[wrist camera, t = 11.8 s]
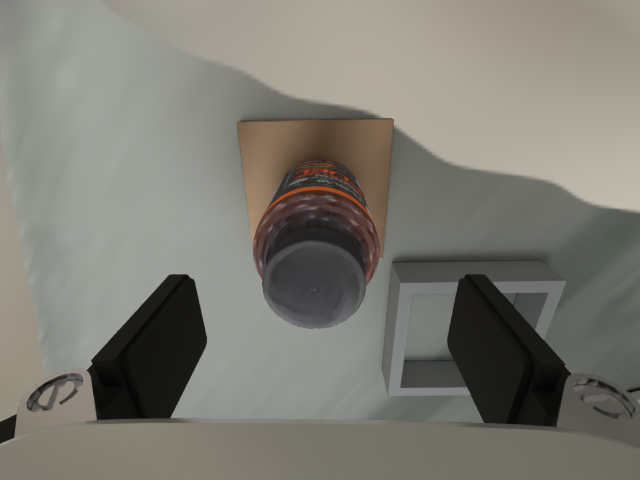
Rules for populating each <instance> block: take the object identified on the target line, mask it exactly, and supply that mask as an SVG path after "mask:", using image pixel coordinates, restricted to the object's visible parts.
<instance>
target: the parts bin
mask: <svg viewBox="0 0 640 480" xmlns="http://www.w3.org/2000/svg"><path fill="white" fill-rule="evenodd" d="M466 274H485V275H486V276H487V277H488V278H489V279H490V281H491V282H492V283H493V284H494V285H495V286H496V287H497V288H498V289H499V291H500V292H501V293H518V294H517V297H516V300H515V304H514V307H515V308H516V310H517V311H518V312H519V313H520V314H521V315H522V316H523V317H524V319H525V320H526V321H527V322H528V323H529V324H530V325H531V326H532V328H533V329H534V330H535V331H536V332H537V333H538V334H539V335H540V336H541V338H542V339H543V340H544V339H545V336H546V334H547V331H548V328H549V326H550V323H551V321H552V318H553V315H554V313H555V310H556V308H557V305H558V302H559V300H560V297H561V295H562V292H563V290H564V287H565V284H566V282H567V281H566V280H565V279H564V278H562V277H561V276H560V275H558V274H557V273H556V272H554V271H553V270H552V269H551V268H549V267H548V266H547V265H545V264H544V263H543V262H541V261H473V262H397V263H392V268H391V279H390V289H389V300H388V311H387V321H386V332H385V342H384V353H383V364H382V371H383V376H384V380H385V385H386V389H387V394H388V396H436V395H471V394H470V392H469V390H468V388H467V386H466V384H465V382H464V380H463V378H462V375H461V373H460V371H459V369H458V367H457V365H456V363H455V361H404V356H405V348H406V341H407V333H408V326H409V319H410V311H411V304H412V296H413V294H456V292H457V287H458V282H459V280H460V279H461V278H464V276H465V275H466Z"/></svg>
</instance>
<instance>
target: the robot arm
mask: <svg viewBox="0 0 640 480" xmlns="http://www.w3.org/2000/svg"><path fill="white" fill-rule="evenodd" d="M447 343H448V348H449V350H450V353H451V355H452V357H453V359H454V361H455V363H456V365H457V367H458V369H459V371H460V373H461V375H462V378H463V380H464V382H465V384H466V386H467V388H468V390H469V392H470V394H471V396H472V398H473V400H474V403H475V405H476V407H477V409H478V411H479V413H480V415H481V417H482V419H483V421H484V423H468V422H423V421H372V420H303V419H199V418H170V417H171V415H172V413H173V411H174V409H175V407H176V405H177V403H178V401H179V399H180V397H181V395H182V393H183V391H184V389H185V387H186V385H187V383H188V381H189V379H190V377H191V375H192V373H193V371H194V369H195V367H196V365H197V363H198V361H199V359H200V357H201V355H202V353H203V351H204V349H205V347H206V344H207V336H206V331H205V327H204V322H203V317H202V313H201V308H200V304H199V299H198V295H197V290H196V285H195V281H194V279H192V278H190V277H189V276H188V275H187V274H172V275H169V276H168V277H167V278H166V279H165V280H164V281H163V282H162V283H161V285H160V286H159V287H158V288H157V289H156V290H155V291H154V292H153V293H152V294H151V296H150V297H149V298H148V299H147V300H146V301H145V302H144V303H143V304H142V305H141V306H140V308H139V309H138V310H137V311H136V312H135V313H134V314H133V315H132V316H131V317H130V318H129V320H128V321H127V322H126V323H125V324H124V325H123V326H122V327H121V328H120V329H119V330H118V332H117V333H116V334H115V335H114V336H113V337H112V338H111V339H110V340H109V341H108V343H107V344H106V345H105V346H104V347H103V348H102V349H101V350H100V351H99V352H98V353H97V355H96V356H95V357H94V358H93V359H92V360H91V361H92V363H93V364H92V365H91V366H90V367H89V369H88V370H87V371H86V370H84V369H69V370H65V371H62V372H59V373H56V374H54V375H52V376H49V377H47V378H45V379H44V380H42V381H41V382H40V383H38V384H36V385H35V386H34V387H33V388H31V389H30V390H29V391H28V392H27V393H26V394H25V395H24V397H23V398H22V399H21V401H20V403H19V406H18V410H17V414H16V415H14V416H12V417H10V418H8V419H6V420H4V421H1V422H0V480H640V390H639V391H635V392H630V393H629V392H627V391H626V390H624V389H623V388H621V387H620V386H618V385H617V384H615V383H613V382H611V381H609V380H607V379H605V378H602V377H599V376H596V375H592V374H586V373H574V374H571V373H570V372H569V371H568V370H567V369H566V368H565V363H564V362H563V361H562V360H561V359H560V358H559V357H558V355H557V354H556V353H555V352H554V351H553V350H552V349H551V348H550V347H549V345H548V344H547V343H546V342H545V341H544V340H543V339H542V338H541V336H540V335H539V334H538V333H537V332H536V331H535V330H534V329H533V328H532V326H531V325H530V324H529V323H528V322H527V321H526V320H525V319H524V317H523V316H522V315H521V314H520V313H519V312H518V311H517V310H516V308H515V307H514V306H513V305H512V304H511V303H510V302H509V301H508V300H507V298H506V297H505V296H504V295H503V294H502V293H501V292H500V291H499V289H498V288H497V287H496V286H495V285H494V284H493V283H492V282H491V281H490V279H489V278H488V277H487V276H486V275H485V274H466V275H465V276H464V278H461V279H460V280H459V282H458V287H457V292H456V297H455V302H454V307H453V312H452V318H451V323H450V328H449V333H448V338H447Z"/></svg>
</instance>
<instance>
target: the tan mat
mask: <svg viewBox="0 0 640 480" xmlns="http://www.w3.org/2000/svg"><path fill="white" fill-rule="evenodd" d="M393 123H394V120H393V119H391V118H383V119H331V120H278V121H240V122H237V129H238V137H239V145H240V153H241V160H242V168H243V176H244V184H245V192H246V200H247V208H248V216H249V224H250V232H251V240H252V248H253V242H254V237H255V233H256V230H257V227H258V224H259V222H260V220H261V218H262V216H263V214H264V212H265V210H266V208H267V206H268V204H269V202H270V201H271V199H272V197H273V195H274V193H275V191H276V189H277V187H278V185H279V183H280V181H281V180H282V178H283V177H284V176H285V174H286V173H287V172H288V171H289V170H290V169H291V168H292V167H293V166H295V165H297V164H298V163H300V162H303V161H305V160H309V159H315V158H325V159H329V160H333V161H335V162H338V163H340V164H341V165H343V166H345V167H346V168H347V169H348V170H349V171H350V172H351V173H352V174H353V175H354V177H355V178H356V180H357V181H358V183H359V185H360V187H361V190H362V193H363V195H364V198H365V201H366V204H367V206H368V209H369V211H370V214H371V217H372V220H373V222H374V225H375V228H376V231H377V234H378V239H379V248H380V252H379V258H383V249H384V236H385V224H386V211H387V198H388V186H389V173H390V161H391V148H392V135H393Z"/></svg>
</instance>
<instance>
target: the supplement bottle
mask: <svg viewBox="0 0 640 480" xmlns="http://www.w3.org/2000/svg"><path fill="white" fill-rule="evenodd" d="M379 252H380V248H379V239H378V234H377V231H376V228H375V225H374V222H373V220H372V217H371V214H370V211H369V209H368V206H367V204H366V201H365V198H364V195H363V193H362V190H361V187H360V185H359V183H358V181H357V180H356V178H355V177H354V175H353V174H352V173H351V172H350V171H349V170H348V169H347V168H346V167H345V166H343V165H341V164H340V163H338V162H335V161H333V160H329V159H325V158H315V159H309V160H305V161H303V162H300V163H298V164H297V165H295V166H293V167H292V168H291V169H290V170H289V171H288V172H287V173H286V174H285V176H284V177H283V178H282V180H281V181H280V183H279V185H278V187H277V189H276V191H275V193H274V195H273V197H272V199H271V201H270V202H269V204H268V206H267V208H266V210H265V212H264V214H263V216H262V218H261V220H260V222H259V224H258V227H257V230H256V233H255V237H254V242H253V256H254V262H255V266H256V268H257V271H258V273H259V275H260V277H261V278H262V280H263V281H262V286H263V293H264V296H265V299H266V301H267V303H268V304H269V306H270V308H271V309H272V310H273V311H274V312H275V313H276V314H277V315H278V316H279V317H281V318H282V319H284V320H285V321H287V322H289V323H291V324H293V325H296V326H298V327H303V328H308V329H314V328H318V329H321V328H328V327H332V326H334V325H337V324H339V323H341V322H343V321H345V320H346V319H348V318H349V317H350V316H352V315H353V314H354V313H355V312H356V311H357V309H358V308H359V307H360V305H361V303H362V301H363V298H364V295H365V291H366V285H367V284H368V283H369V282H370V280H371V279H372V277H373V275H374V273H375V271H376V268H377V265H378V260H379Z"/></svg>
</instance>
